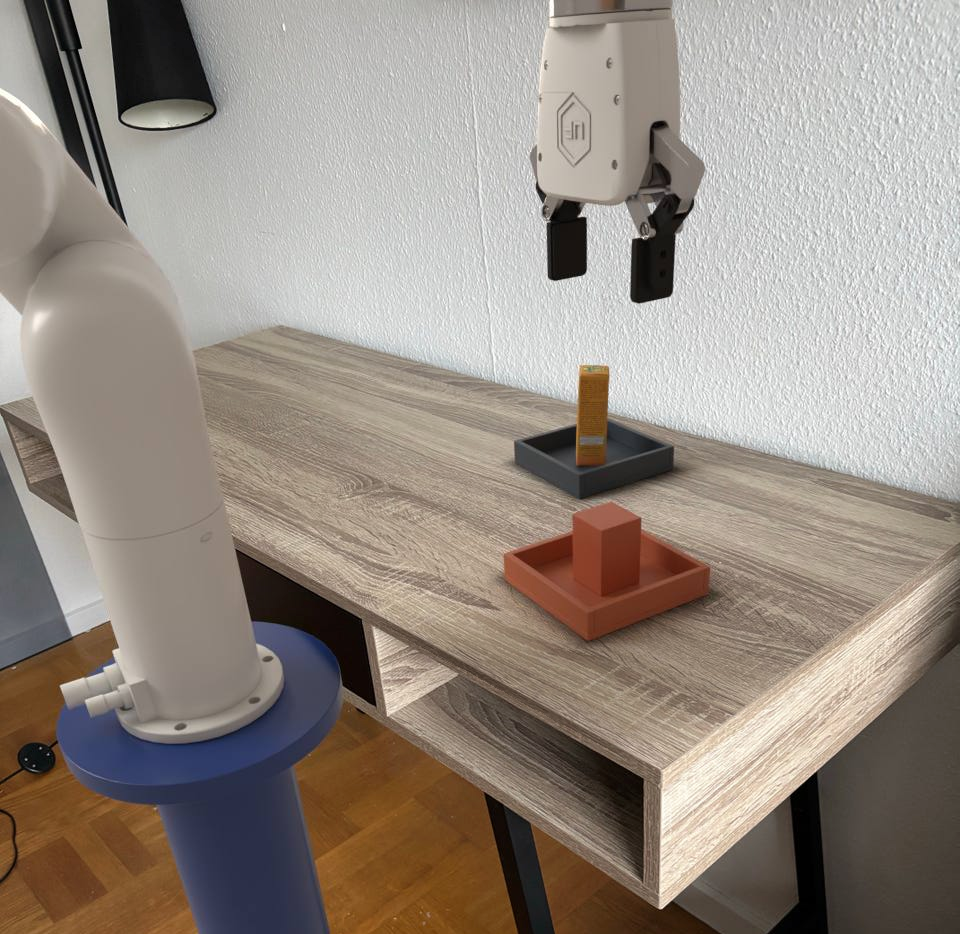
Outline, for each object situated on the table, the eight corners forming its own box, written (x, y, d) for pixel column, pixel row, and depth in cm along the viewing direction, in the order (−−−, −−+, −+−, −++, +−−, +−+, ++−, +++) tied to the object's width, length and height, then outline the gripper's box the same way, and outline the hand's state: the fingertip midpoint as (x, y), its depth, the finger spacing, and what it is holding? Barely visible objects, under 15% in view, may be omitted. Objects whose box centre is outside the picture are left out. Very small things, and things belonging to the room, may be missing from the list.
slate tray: (579, 499, 95) (579, 475, 94) (514, 463, 104) (513, 440, 103) (673, 469, 100) (674, 446, 99) (603, 437, 109) (603, 416, 108)
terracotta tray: (588, 641, 73) (588, 612, 71) (504, 580, 82) (503, 553, 80) (708, 594, 78) (710, 566, 76) (617, 541, 87) (617, 515, 85)
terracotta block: (601, 597, 77) (601, 530, 74) (572, 578, 80) (572, 513, 77) (639, 582, 79) (641, 517, 76) (610, 564, 82) (611, 501, 79)
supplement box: (608, 466, 100) (610, 373, 95) (576, 467, 101) (575, 374, 95) (607, 455, 103) (608, 363, 98) (575, 455, 103) (575, 364, 98)
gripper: (485, 7, 63) (498, 278, 72) (653, -13, 50) (643, 320, 59) (577, 2, 66) (578, 262, 75) (759, -18, 53) (733, 299, 62)
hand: (607, 288), depth 67 cm, fingers open, 9 cm apart
